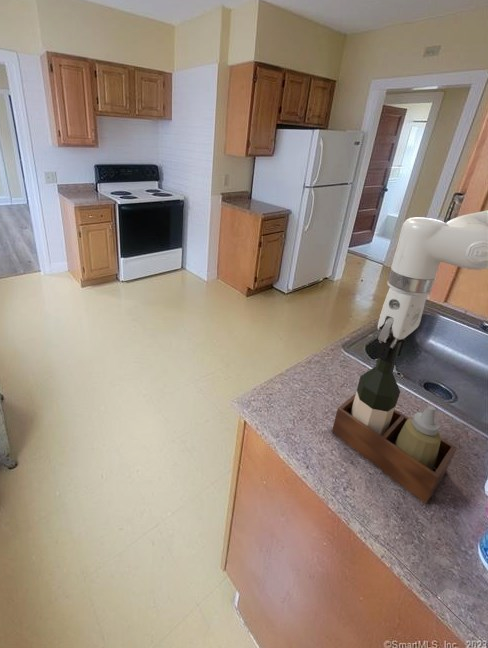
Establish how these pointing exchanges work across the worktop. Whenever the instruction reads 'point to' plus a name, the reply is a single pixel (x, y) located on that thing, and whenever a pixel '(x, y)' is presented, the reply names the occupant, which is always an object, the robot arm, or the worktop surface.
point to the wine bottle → (377, 395)
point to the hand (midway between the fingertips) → (387, 355)
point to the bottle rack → (392, 451)
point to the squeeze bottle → (421, 437)
